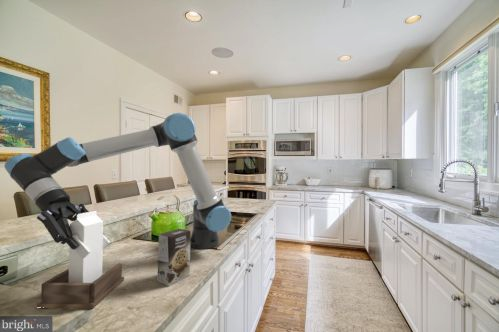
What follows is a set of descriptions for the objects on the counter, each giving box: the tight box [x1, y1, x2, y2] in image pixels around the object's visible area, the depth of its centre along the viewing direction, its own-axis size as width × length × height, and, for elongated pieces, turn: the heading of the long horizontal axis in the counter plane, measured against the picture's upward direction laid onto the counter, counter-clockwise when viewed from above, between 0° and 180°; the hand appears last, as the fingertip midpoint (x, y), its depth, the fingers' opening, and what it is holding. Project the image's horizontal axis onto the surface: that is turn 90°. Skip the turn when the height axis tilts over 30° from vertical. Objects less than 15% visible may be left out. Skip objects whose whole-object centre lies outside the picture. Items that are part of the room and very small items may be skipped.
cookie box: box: [157, 228, 192, 287], centre depth 75 cm, size 9×6×16 cm
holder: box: [36, 262, 125, 310], centre depth 66 cm, size 15×15×6 cm
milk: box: [68, 210, 104, 283], centre depth 66 cm, size 6×6×22 cm
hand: (97, 249), depth 66 cm, fingers open, 7 cm apart
